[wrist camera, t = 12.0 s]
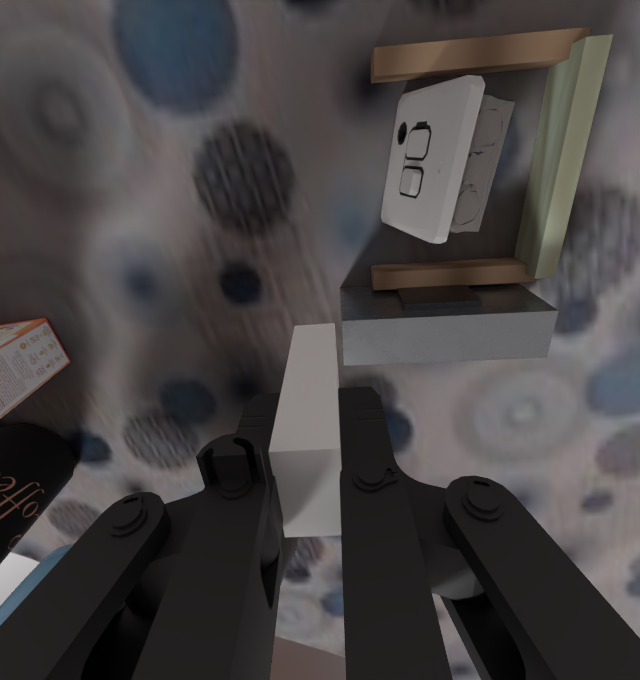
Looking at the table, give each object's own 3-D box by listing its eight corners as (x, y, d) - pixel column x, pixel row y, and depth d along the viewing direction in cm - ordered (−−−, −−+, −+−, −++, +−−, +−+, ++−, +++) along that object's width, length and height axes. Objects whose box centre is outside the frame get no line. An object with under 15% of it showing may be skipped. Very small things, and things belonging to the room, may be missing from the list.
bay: (371, 281, 34) (375, 296, 30) (370, 56, 26) (376, 40, 22) (528, 273, 33) (552, 286, 29) (577, 37, 25) (617, 17, 22)
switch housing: (342, 328, 36) (344, 370, 29) (340, 282, 34) (341, 315, 27) (502, 320, 35) (545, 361, 28) (511, 273, 33) (560, 304, 26)
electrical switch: (398, 94, 27) (443, 67, 19) (462, 101, 28) (534, 79, 19) (378, 221, 31) (408, 244, 23) (434, 225, 32) (483, 250, 24)
